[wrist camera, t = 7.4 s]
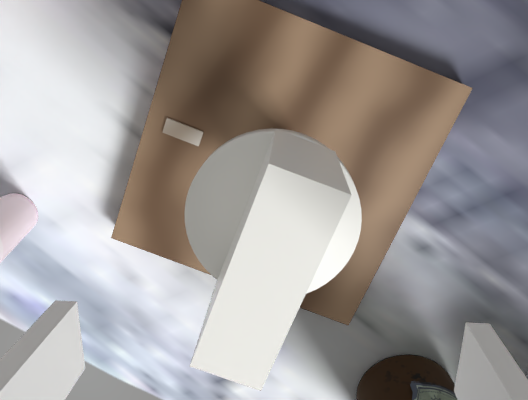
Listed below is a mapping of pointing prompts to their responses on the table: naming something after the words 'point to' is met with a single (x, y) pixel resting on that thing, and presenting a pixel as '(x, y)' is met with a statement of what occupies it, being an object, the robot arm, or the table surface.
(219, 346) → the cap
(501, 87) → the table surface
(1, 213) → the smoothie
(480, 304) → the table surface
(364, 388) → the olive oil
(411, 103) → the post board
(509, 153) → the table surface
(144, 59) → the table surface
